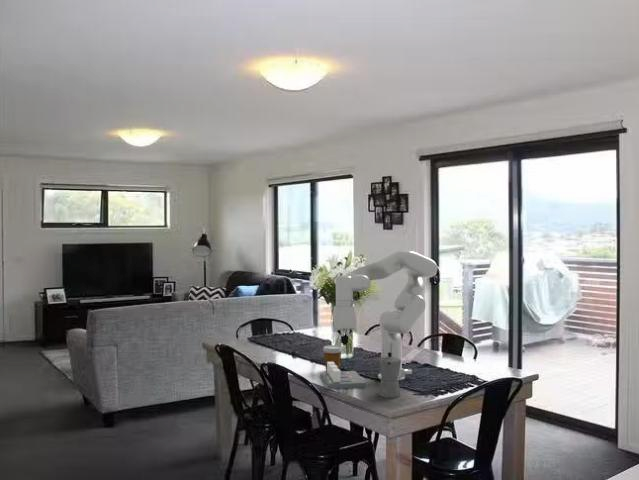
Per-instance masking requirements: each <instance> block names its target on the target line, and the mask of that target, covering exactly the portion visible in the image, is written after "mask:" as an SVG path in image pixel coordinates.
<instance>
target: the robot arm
mask: <svg viewBox="0 0 639 480" xmlns="http://www.w3.org/2000/svg"><path fill="white" fill-rule="evenodd" d="M402 270H406V273H407V282H406V284H405V285H404V287H403V289H402V290H401V291H400V293H399V295H397V297H396V299H395V300H394V303H393V305H394V306H393V307H394V309H395V310H392V309H389V310H385V311H382V312H381V314H380V316H379V328H380V335H381V336H380V337H381V338H380V339H381V340H380V341H381V347H380V348H381V350H380V353H381V354H380V356H381V357H380V358H383V357H388V353H389V352H390V353H392V354H391V355H392V357H395V358H399V359H400V360H401V363H400V370H399V375H398V381H404V380H405V379H406V375H412V374H413V370H412V369H407V368H406V369H404V368H403V367H402V366H403V365H402V357H403V339H402V335H406V334H408V333H410V332H411V331H412V330H413V328H414V327H415V325H416V324H417V323H418V322H419V320H420V319H421V317H422V316H423V315H424V312H425V309H426V300H425V299H424V297H422V294H423V292H424V290H425V284H424V278H427V279H428V278H432V277H434V276H435V275H436V274H437V272H438V264H437V263H436V262H435V261H434V260H433V259H431V258H430V257H426V256H424V255H422V254H419V253H418V252H415V251H412V250H411V251H410V250H397V251H396V252H393V253H391V254H389V255H387V256H385V257H384V258H382V259H380V260H378V261H375V262H372V263H369V264H367V265H366V264H365V265H364V266H360V267H358V268H356V269H354V270H351V271H350V272H348V273H347V274H346V275H337V276H336V277H335V305H334V306H333V312H332V332H334V333H337V334H339V335H340V343H341V344H342V345H343V346H348V343H349V337H350V335H351V333H353V332H357V329H358V328H357V316H356V309H355V308H356V307H355V305H356V304H357V300H354V298H353V297H354V296H353V295H354V294H353V292H366V291H368V290H369V289H370V287H371V283H372V282H371V281H375V280H378V281H379V280H383V279H387V278H388V277H390V276H392V275H394V274H396V273H398V272H400V271H402ZM396 310H397V311H396ZM344 330H345V333H344ZM377 378H378V379H379V380H381V379H382V375H381V373H379V374H377Z"/></svg>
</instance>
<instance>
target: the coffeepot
mask: <svg viewBox="0 0 639 480" xmlns="http://www.w3.org/2000/svg"><path fill="white" fill-rule="evenodd" d="M391 354H392V353H390V352H389V353H388V357H383V358H381V357H380V358H378V365H379V372H380V373H379V374H381V375H382V379H380V385H379V388H378V395H379V397H382V398H387V399H388V398H389V399H390V398H391V399H393V398H398V397H400V396H401V395H402V393H401V388H400V384H399V383H400V382H399V381H398V375H399V370H400V363H401V360H400V359H399V358H395V357H392V355H391Z"/></svg>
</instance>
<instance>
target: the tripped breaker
mask: <svg viewBox="0 0 639 480" xmlns="http://www.w3.org/2000/svg"><path fill="white" fill-rule="evenodd" d="M341 372H342V371H341V370H340V368H339V369H332V380H333V382H341Z"/></svg>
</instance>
